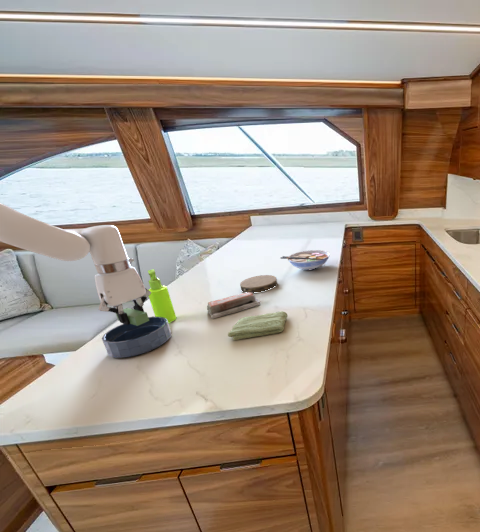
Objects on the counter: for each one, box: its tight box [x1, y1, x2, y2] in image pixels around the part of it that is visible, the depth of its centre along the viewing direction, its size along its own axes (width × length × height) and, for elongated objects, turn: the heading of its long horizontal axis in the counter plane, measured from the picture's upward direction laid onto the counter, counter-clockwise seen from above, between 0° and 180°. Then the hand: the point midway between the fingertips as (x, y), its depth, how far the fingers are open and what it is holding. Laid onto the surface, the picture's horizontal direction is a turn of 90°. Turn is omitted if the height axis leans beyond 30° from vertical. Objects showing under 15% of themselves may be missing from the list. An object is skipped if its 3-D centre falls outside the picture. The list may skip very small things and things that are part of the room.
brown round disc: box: [239, 274, 278, 294], centre depth 143 cm, size 16×16×3 cm
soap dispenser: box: [147, 268, 177, 323], centre depth 111 cm, size 6×7×20 cm
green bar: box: [115, 307, 149, 326], centre depth 95 cm, size 10×3×3 cm, turn 69°
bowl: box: [101, 316, 173, 358], centre depth 97 cm, size 16×16×6 cm
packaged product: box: [206, 292, 261, 320], centre depth 121 cm, size 18×5×10 cm
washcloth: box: [227, 310, 288, 341], centre depth 105 cm, size 13×18×3 cm
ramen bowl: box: [280, 249, 331, 271], centre depth 166 cm, size 25×23×8 cm
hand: (133, 320), depth 95 cm, fingers closed on green bar, 3 cm apart
